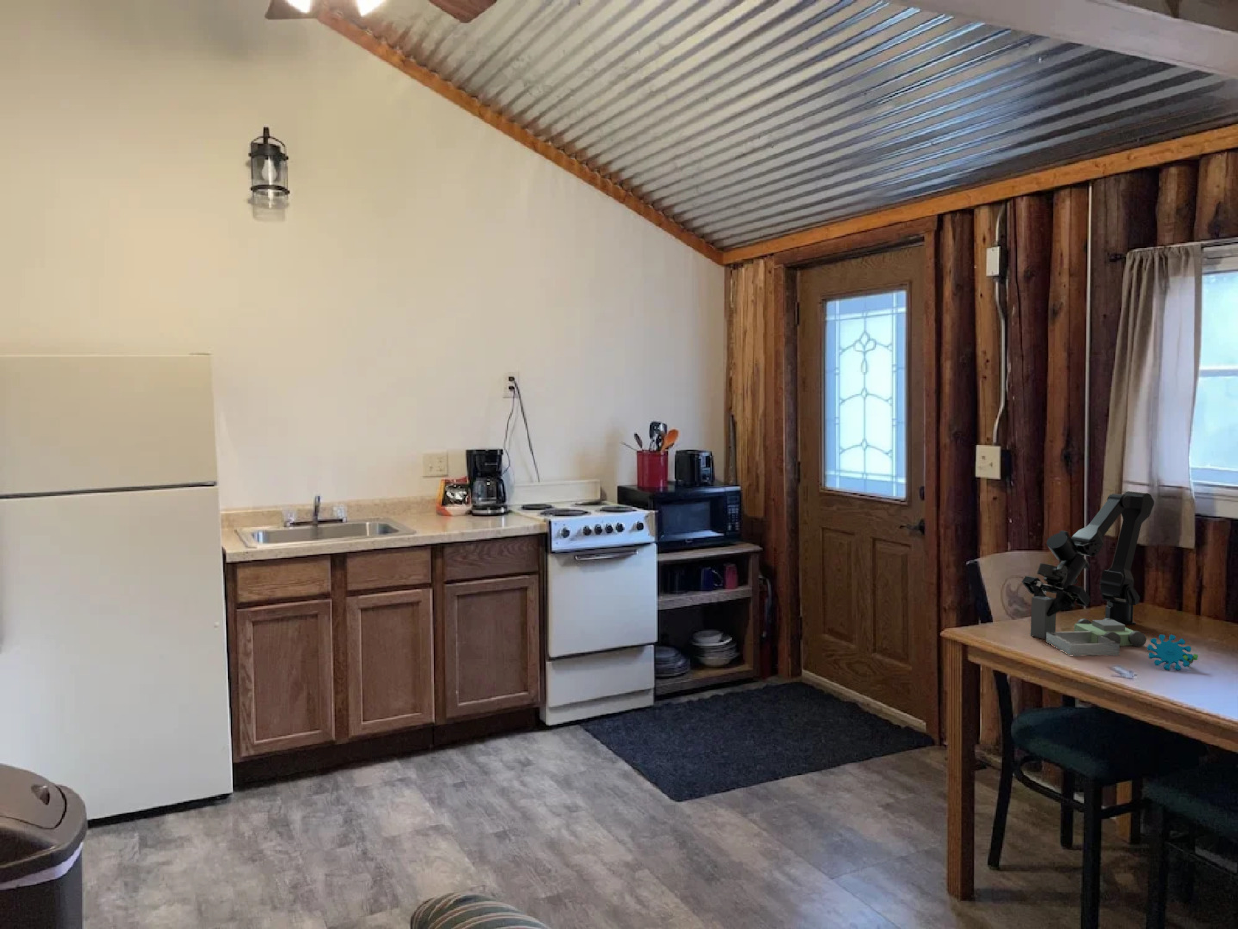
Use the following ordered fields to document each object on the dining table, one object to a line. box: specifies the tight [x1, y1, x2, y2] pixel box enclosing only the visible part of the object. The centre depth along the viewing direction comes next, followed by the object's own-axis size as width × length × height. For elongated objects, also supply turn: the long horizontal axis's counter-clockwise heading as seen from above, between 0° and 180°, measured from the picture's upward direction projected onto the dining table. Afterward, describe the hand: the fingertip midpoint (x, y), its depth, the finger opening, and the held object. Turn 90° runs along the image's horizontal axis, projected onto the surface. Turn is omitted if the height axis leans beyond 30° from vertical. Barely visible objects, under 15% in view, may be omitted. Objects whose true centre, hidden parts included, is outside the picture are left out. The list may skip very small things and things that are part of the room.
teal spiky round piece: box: [1146, 634, 1199, 671], centre depth 237 cm, size 11×6×10 cm
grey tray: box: [1045, 630, 1121, 657], centre depth 253 cm, size 13×13×3 cm
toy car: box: [1073, 617, 1147, 648], centre depth 262 cm, size 12×16×4 cm
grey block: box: [1030, 595, 1057, 640], centre depth 265 cm, size 4×4×11 cm
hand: (1040, 613), depth 264 cm, fingers closed on grey block, 4 cm apart
